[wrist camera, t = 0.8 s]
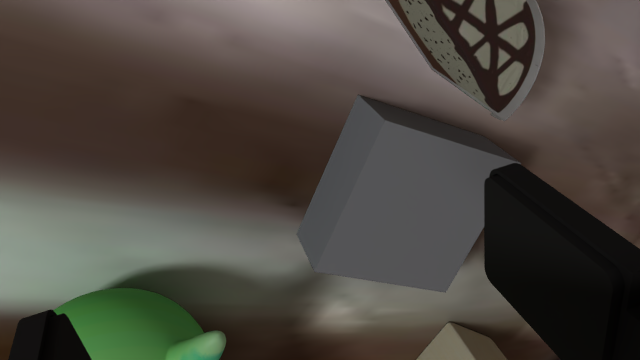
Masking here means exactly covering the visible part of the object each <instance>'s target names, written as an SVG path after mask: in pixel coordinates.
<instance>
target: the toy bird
mask: <svg viewBox="0 0 640 360" xmlns="http://www.w3.org/2000/svg"><path fill="white" fill-rule="evenodd" d="M53 311H54V312H55V313H56V314H57V315H59V314H62V313H64V314H66V315H67V317H68V318H69V320H70V322H71V323H72V325H73V327H74V329H75V330H76V332H77V334H78V336H79V338H80V339H81V341H82V343H83V345H84V347H85V348H86V350H87V352H88V354H89V355H90V357H91V359H92V360H219V359H220V357H221V355H222V353H223V351H224V348H225V345H226V336H225V334H224V333H223V332H221V331H217V330H215V331H210V332H206V333H204V332H203V330H202V328H201V327H200V326H199V324H198V323H197V322H196V321H195V319H194V318H193V317H192V316H191V315H190V314H189V313H188V312H187V311H186V310H185V309H183V308H182V307H181V306H180V305H178V304H177V303H175V302H174V301H172V300H170V299H169V298H167V297H164V296H162V295H160V294H157V293H154V292H151V291H147V290H142V289H134V288H113V289H105V290H99V291H95V292H91V293H88V294H85V295H82V296H79V297H77V298H75V299H72V300H70V301H68V302H66V303H65V304H63V305H61V306H59V307H58V308H56V309H55V310H53Z"/></svg>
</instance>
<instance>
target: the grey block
mask: <svg viewBox="0 0 640 360" xmlns="http://www.w3.org/2000/svg"><path fill="white" fill-rule="evenodd" d="M512 163H518V164H521V163H520V162H519V161H517V160H516V159H515V158H513V157H512V156H510V155H509V154H508V153H506V152H505V151H504V150H502V149H501V148H499V147H498V146H497V145H495V144H494V143H493V142H491V141H490V140H488V139H487V138H486V137H484V136H481V135H478V134H475V133H472V132H469V131H466V130H463V129H460V128H457V127H454V126H451V125H448V124H445V123H442V122H439V121H436V120H433V119H430V118H427V117H424V116H421V115H418V114H415V113H412V112H409V111H406V110H403V109H400V108H397V107H394V106H391V105H388V104H385V103H382V102H379V101H376V100H373V99H370V98H367V97H364V96H361V95H358V96H357V98H356V100H355V103H354V105H353V107H352V110H351V112H350V114H349V116H348V119H347V121H346V123H345V125H344V128H343V130H342V132H341V134H340V137H339V139H338V141H337V144H336V146H335V148H334V150H333V153H332V155H331V157H330V159H329V162H328V164H327V166H326V169H325V171H324V173H323V175H322V178H321V180H320V182H319V184H318V187H317V189H316V191H315V194H314V196H313V198H312V200H311V203H310V205H309V207H308V209H307V212H306V214H305V216H304V219H303V221H302V223H301V225H300V228H299V230H298V232H297V236H298V238H299V240H300V242H301V244H302V246H303V249H304V251H305V253H306V255H307V257H308V259H309V261H310V263H311V266H312V268H313V270H314V272H319V273H326V274H332V275H338V276H345V277H351V278H357V279H364V280H370V281H376V282H383V283H389V284H395V285H401V286H408V287H414V288H420V289H427V290H433V291H439V292H446V291H447V289H448V288H449V286H450V284H451V282H452V281H453V279H454V277H455V276H456V274H457V272H458V270H459V269H460V267H461V265H462V264H463V262H464V260H465V258H466V257H467V255H468V253H469V252H470V250H471V248H472V246H473V245H474V243H475V241H476V240H477V238H478V236H479V234H480V233H481V231H482V229H483V228H484V182H485V179H487V178H489V175H490V172H491V171H492V170H493V169H496V168H499V167H503V166H506V165H509V164H512Z"/></svg>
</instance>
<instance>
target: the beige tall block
mask: <svg viewBox="0 0 640 360" xmlns="http://www.w3.org/2000/svg"><path fill="white" fill-rule="evenodd" d="M417 360H507V359H506V357H505V356H504V355H503V353H502V352H501V351H500V350H499V348H498V347H497V346H496V344H495V343H494V342H493V341H492V340H491V339H490V338H489V337H487V336H484V335H482V334H479V333H477V332H474V331H472V330H469V329H467V328H464V327H462V326H460V325H457V324H455V323H452V322H449V323H447V324H446V325H445V326H444V328H443V329H442V330H441V331H440V332H439V334H438V335H437V336H436V337H435V338H434V339H433V340H432V342H431V343H430V344H429V345H428V346H427V348H426V349H425V350H424V351H423V352H422V353H421V355H420V356H419V357H418V358H417Z"/></svg>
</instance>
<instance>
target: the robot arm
mask: <svg viewBox="0 0 640 360" xmlns="http://www.w3.org/2000/svg"><path fill="white" fill-rule="evenodd" d="M484 246H485V272H486V275H487V277H488V279H489V281H490V282H491V283H492V284H493V286H494V287H495V288H496V289H497V290H498V291H499V292H500V293H501V294H502V295H503V297H504V298H505V299H506V300H507V301H508V302H509V303H510V304H511V305H512V306H513V308H514V309H515V310H516V311H517V312H518V313H519V314H520V315H521V316H522V317H523V319H524V320H525V321H526V322H527V323H528V324H529V325H530V326H531V327H532V328H533V329H534V331H535V332H536V333H537V334H538V335H539V336H540V337H541V338H542V339H543V340H544V342H545V343H546V344H547V345H548V346H549V347H550V348H551V349H552V350H553V351H554V353H555V354H556V355H557V356H558V357H559V358H560V359H561V360H640V249H639V248H637V247H636V246H635V245H633V244H632V243H630V242H629V241H628V240H626V239H625V238H623V237H622V236H620V235H619V234H618V233H616V232H615V231H613V230H612V229H611V228H609V227H608V226H606V225H605V224H604V223H602V222H601V221H599V220H598V219H596V218H595V217H594V216H592V215H591V214H589V213H588V212H587V211H585V210H584V209H582V208H581V207H580V206H578V205H577V204H575V203H574V202H573V201H571V200H570V199H568V198H567V197H565V196H564V195H563V194H561V193H560V192H558V191H557V190H556V189H554V188H553V187H551V186H550V185H549V184H547V183H546V182H544V181H543V180H541V179H540V178H539V177H537V176H536V175H534V174H533V173H532V172H530V171H529V170H527V169H526V168H525V167H523V166H522V165H520V164H518V163H512V164H509V165H506V166H503V167H499V168H496V169H493V170H492V171H491V172H490V175H489V178H487V179H485V182H484ZM8 360H92V359H91V357H90V355H89V354H88V352H87V350H86V348H85V347H84V345H83V343H82V341H81V339H80V338H79V336H78V334H77V332H76V330H75V329H74V327H73V325H72V323H71V322H70V320H69V318H68V317H67V315H66V314H64V313H62V314H59V315H57V314H56V313H55V312H54V311H53V310H48V311H45V312H42V313H38V314H35V315H32V316H29V317H26V318H23V319H21V320H20V321H19V323H18V326H17V329H16V333H15V337H14V341H13V344H12V348H11V352H10V356H9V359H8Z"/></svg>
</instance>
